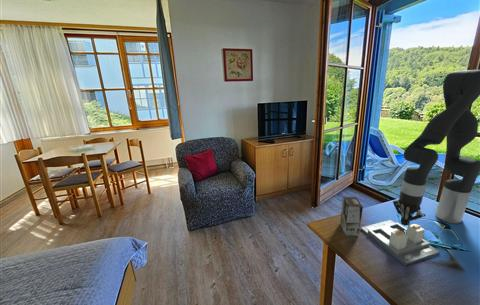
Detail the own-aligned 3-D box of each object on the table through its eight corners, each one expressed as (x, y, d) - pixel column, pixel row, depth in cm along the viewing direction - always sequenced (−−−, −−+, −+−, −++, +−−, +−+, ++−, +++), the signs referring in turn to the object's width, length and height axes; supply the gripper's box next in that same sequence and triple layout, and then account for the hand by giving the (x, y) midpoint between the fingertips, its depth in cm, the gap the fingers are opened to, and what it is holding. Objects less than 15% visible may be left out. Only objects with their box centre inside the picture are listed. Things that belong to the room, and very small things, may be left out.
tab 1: (395, 242, 89) (399, 228, 86) (405, 249, 85) (408, 234, 83) (388, 244, 88) (391, 230, 85) (397, 251, 84) (400, 236, 82)
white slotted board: (389, 221, 104) (390, 217, 103) (439, 254, 83) (440, 249, 83) (360, 229, 100) (361, 225, 99) (404, 265, 80) (406, 260, 79)
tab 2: (411, 236, 92) (415, 222, 89) (421, 242, 88) (425, 227, 85) (404, 238, 91) (408, 224, 88) (414, 244, 87) (417, 230, 84)
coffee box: (359, 236, 96) (363, 207, 91) (344, 235, 97) (348, 206, 92) (353, 223, 104) (356, 196, 99) (339, 222, 106) (342, 196, 101)
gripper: (436, 197, 81) (426, 232, 87) (403, 183, 93) (396, 214, 99) (422, 200, 80) (413, 236, 85) (390, 186, 92) (384, 217, 97)
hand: (404, 224), depth 92 cm, fingers closed
